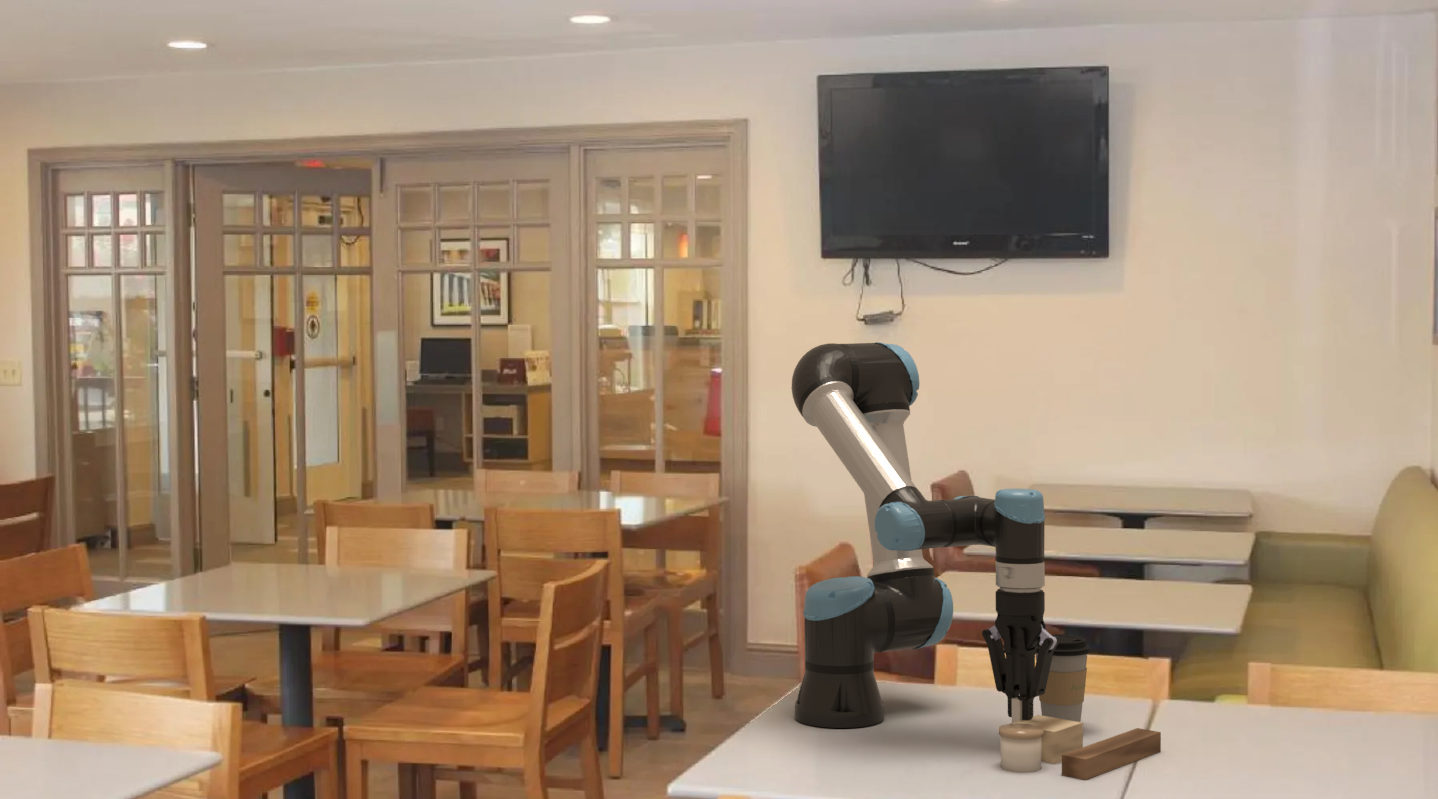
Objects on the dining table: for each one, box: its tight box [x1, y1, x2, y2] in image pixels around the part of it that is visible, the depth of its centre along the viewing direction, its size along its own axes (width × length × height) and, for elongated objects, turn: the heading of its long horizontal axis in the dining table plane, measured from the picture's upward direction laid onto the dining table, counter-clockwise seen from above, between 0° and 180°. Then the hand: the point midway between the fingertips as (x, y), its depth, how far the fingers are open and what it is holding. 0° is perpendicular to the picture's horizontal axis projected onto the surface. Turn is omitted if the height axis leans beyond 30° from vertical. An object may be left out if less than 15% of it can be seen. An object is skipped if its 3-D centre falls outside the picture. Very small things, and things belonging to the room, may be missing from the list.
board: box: [1061, 727, 1162, 781], centre depth 243 cm, size 4×22×3 cm, turn 136°
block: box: [1009, 714, 1084, 765], centre depth 249 cm, size 8×8×5 cm
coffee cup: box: [1035, 633, 1091, 723], centre depth 264 cm, size 9×9×15 cm
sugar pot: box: [998, 723, 1044, 773], centre depth 242 cm, size 7×7×6 cm
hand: (1020, 739), depth 252 cm, fingers closed
